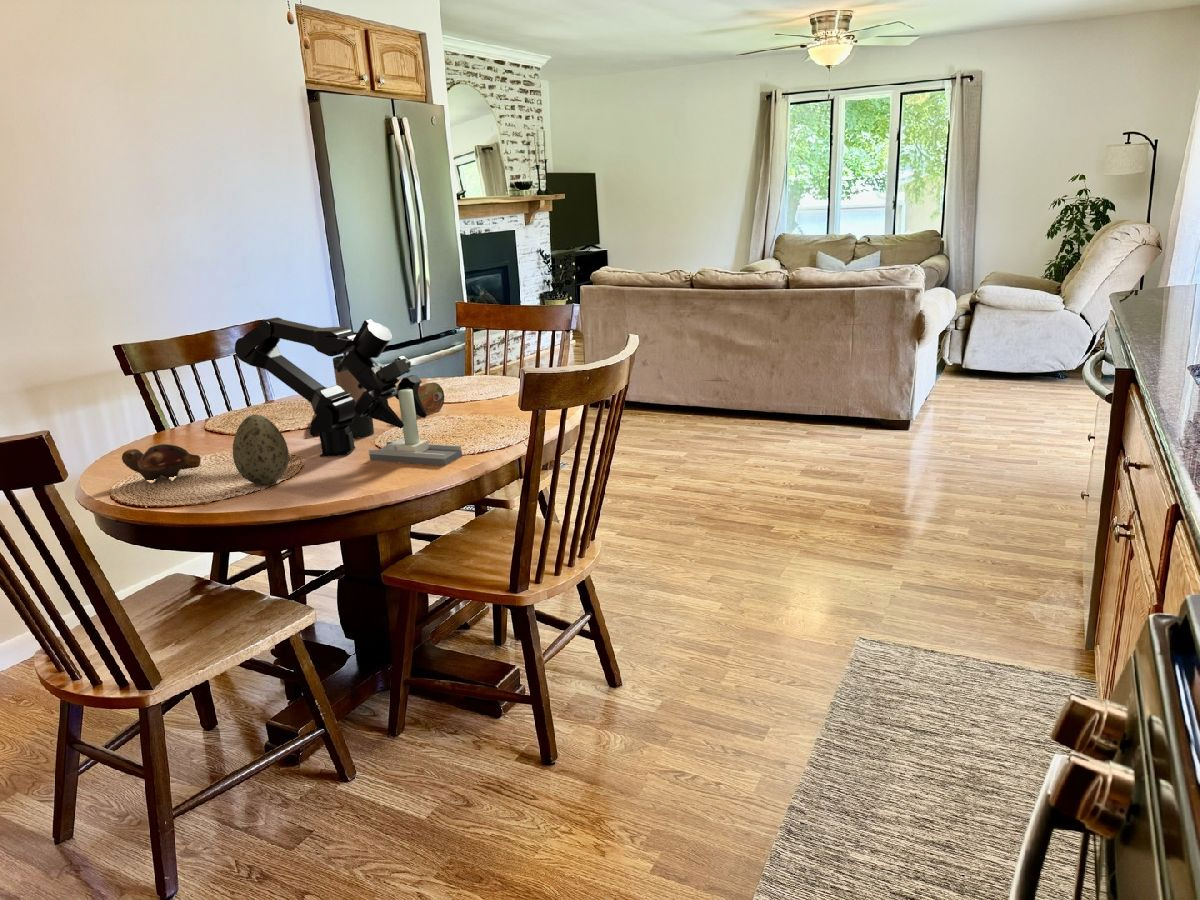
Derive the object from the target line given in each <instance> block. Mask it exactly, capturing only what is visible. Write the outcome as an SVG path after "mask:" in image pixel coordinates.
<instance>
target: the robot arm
mask: <svg viewBox="0 0 1200 900" xmlns="http://www.w3.org/2000/svg"><path fill="white" fill-rule="evenodd" d="M392 338H393V335H392V332H391V330H390V329H389V328H388V327H387V326H384V325H383V324H381V323H378V322H375V321H373V319H371V318H369V319H365V320H364V321H362V324H361V327H360V328H359V330H358V331H357V332H356V331H353V330H352V329H351V328H349V327H346V326H327V327H326V326H325V327H317V326H314V325H310V324H304V323H302V322H295V321H291V320H287V319H283V318H281V317H271V318H267V319H263V320H262V321H261V322H260V323H259V324H257V326H255V328H252V330H250V331H248V332H247V333H245V335H243V336H242V337H240V338H238V339H236V341H235V343H234V352H235V355H236V357H237V359H238V360H239V361H241V362H242V363H245V364H247V365H249V366H251V367H255V368H259V369H263V370H265V371H267V372H269V373H270V374H272V376H274V377H275V378H277V379H278V380H279V381H281V382H282V383H284V384H285V385H286V386H287V387H288V388H290V389H291V390H292V391H294V392H295V393H297V394H298V395H299V396H301V397H302V399H303V398H304V399H305V400H306V401H307V402H309V403H310V405H311V407H312V410H313V414H314V413H315V414H316V416H315V418H314V419H313V421H312V420H311V421H312V422H311V421H310V424H311V426H312V428H313V430H314V432H319V435H320V436H319V440H320V446H321V447H320V448H321V453H320V454H319V457H320V458H324V457H341V456H342V457H345V456H348V455H350V453H352V452H353V451H354V450H355V449H356V446H355V439H354V438H353V434H352V431H350V428H349V424H352V423H353V421H354V415H355V413H357V414H358V415H359V416H360V417H363V416H365V415H366V417H367V418H369V417H370V418H373V419H374V420H375V421H376V420H377V421H380V422H383V423H385V424H388V425H391V426H394V427H397V428H399V429H403V427H404V424H403V422H402V419H401V418H400V417H399V416H398V415H397V413H396V412H395V411H394V410H393V409H392V407H391V406H390V405H389V401H388V400H389V399H392V398H396V399H397V400H398V401H399V397H398V391H399V390H404V389H412V390H413V397H414V405H415V412H416V414H417V415H419V416H420V417H422V418H421V419H426V417H428V415H427V414H426V412H425V409H424V407H423V405H422V403H421V401H420V398H419V395H418V389H419V387H420V385H421V383H422V379H421V378H419V376H418V375H416V374H411V375H407V376H405V377H403V378H402V379H400V378H401V376H403V375H405V374H409V373H410V372H411V369H410V368H411V366H412V363H411V361H410V360H409V359H408V358H406V357H405V356H404V355H401V356H398V357H397V358H395V359H393V360H394V361H392V362H390V363H389V364H387V365H385V364H380V365H379V364H378V363H377V362H376V361H375V360H374V359H377V358H379V357H380V356H381V354H382V353H383V352H384V350H385V348H386V347H387V345H389V343H390V341H391V340H392ZM281 340H284V341H285V340H286V341H290V342H293V343H299V344H303V345H307V346H310V347H313V348H314V349H315V350H316V351H317V352H318V353H321V354H323V355H325V356H327V357H337V356H341V355H343V354H344V355H345V356H344V357H343V359H340V360H337V364H338V365H337V372H342V371H346V370H348V371H349V372H350V373H351V374H352V375H353V377H354V378H355V379H356V380H357V381H358V382H359V384H358V388H359V389H363V388H365V389H366V390H367V391H365V392H363V393H362V395H361V396H360V398H359V399H358V400H357V402H356V403H355V401H354V399H353V398H352V397H350V396H349V395H351V394H350V393H347V392H345V391H344V390H343V389H342V388H341V387H340V386H338V385H336V384H335V385H332V386H329V387H326V386H324V385H323V384H321V383H320V382H318V381H317V380H316V379H314V378H313V377H312V376H311V375H309V374H308V373H307V372H305V371H304V370H303V369H301V368H300V367H299V366H297V365H296V364H294V363H293V362H292V361H290V360H289V359H288V358H286V357H285V356H283V355H282V354H281V353H280V350H279V347H278V344H279V342H280V341H281Z"/></svg>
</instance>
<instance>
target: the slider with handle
mask: <svg viewBox="0 0 1200 900" xmlns="http://www.w3.org/2000/svg"><path fill="white" fill-rule="evenodd" d="M398 397H399V400H398V403H399V410H400V417H401V418H400V420H401V421H402V422H403V424H404V427H403V428H402V433H403V439H404V441H405V442H403V443H401V444H398V445H396V449H397V451H405V452H421V453H422V452H424V451H426V450H428V449H429V444H430V443H429V439H428V440H427V439H420V436H419V429H418V428H419V427H418V421H417V420H418V419H416V412H415V405H414V397H413V390H412V389H404V390H399V391H398Z"/></svg>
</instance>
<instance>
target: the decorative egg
mask: <svg viewBox="0 0 1200 900" xmlns="http://www.w3.org/2000/svg"><path fill="white" fill-rule="evenodd" d="M288 447H289V446H288V444H287V441H286V439H285V437H284V436H283V434H282V433H281V431H280V429H279V428H278V427H277V426H276V425H275V424H274V423H273V422H272V421H271V420H270V419H268V418H267V417H265V416H263V415H260V414H251V415H248V416H247V417H245V419H243V420H242V422H241V423H240V424H239V426H238V428H237V430H236V431H235V435H234V439H233V444H232V458H233V462H234V466H235V468H236V470H237V471H238V473H239V474H240V475H241V477H243V478H244V479H245V480H247V481H249V482H250V483H252V484H254V485H259V484H267V485H270V484H269V483H271V484H273V483H275V482H277V481H279V479H281V478H282V477H283V475H284V474H285V472H286V470H287V468H288V465H289V462H290V461H289V460H290V454H289V452H290V451H289V448H288Z"/></svg>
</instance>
